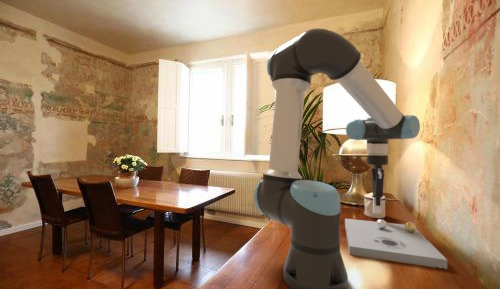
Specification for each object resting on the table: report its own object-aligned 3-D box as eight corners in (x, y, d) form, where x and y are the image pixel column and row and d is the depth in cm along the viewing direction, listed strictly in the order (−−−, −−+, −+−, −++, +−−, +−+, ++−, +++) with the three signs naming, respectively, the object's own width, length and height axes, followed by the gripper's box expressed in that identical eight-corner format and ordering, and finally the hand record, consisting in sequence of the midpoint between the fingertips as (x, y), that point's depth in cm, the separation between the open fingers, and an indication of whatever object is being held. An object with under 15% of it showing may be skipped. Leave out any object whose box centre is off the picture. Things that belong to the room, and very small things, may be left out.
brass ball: (417, 234, 79) (417, 224, 79) (406, 233, 80) (406, 223, 80) (414, 230, 82) (414, 221, 82) (403, 229, 84) (403, 220, 84)
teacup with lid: (368, 211, 115) (369, 188, 115) (389, 216, 108) (389, 191, 108) (357, 216, 107) (357, 191, 107) (377, 221, 100) (378, 194, 100)
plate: (447, 269, 61) (447, 259, 61) (349, 254, 70) (349, 246, 70) (412, 232, 88) (412, 225, 88) (344, 224, 96) (344, 218, 96)
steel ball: (387, 230, 82) (387, 221, 82) (377, 229, 83) (377, 220, 83) (385, 227, 85) (385, 218, 85) (375, 226, 87) (375, 217, 87)
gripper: (391, 155, 85) (392, 219, 86) (384, 154, 98) (384, 209, 98) (369, 155, 88) (369, 217, 88) (364, 153, 100) (364, 207, 100)
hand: (377, 213), depth 93 cm, fingers closed
